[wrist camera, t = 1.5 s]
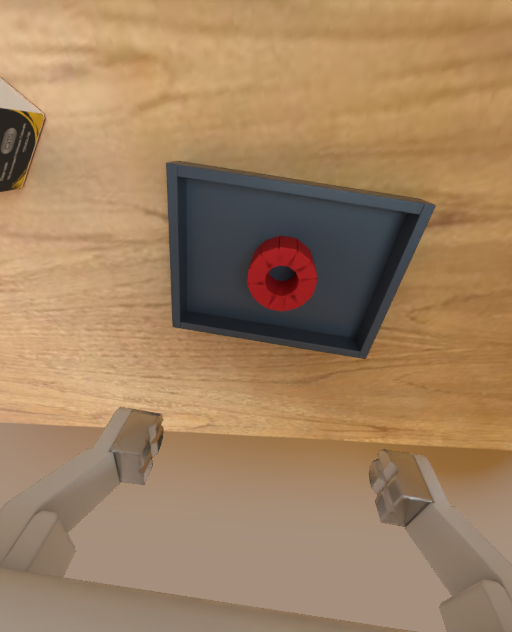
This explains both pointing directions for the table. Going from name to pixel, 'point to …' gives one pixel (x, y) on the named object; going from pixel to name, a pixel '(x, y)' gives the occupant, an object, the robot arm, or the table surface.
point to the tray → (328, 255)
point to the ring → (277, 291)
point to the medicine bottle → (16, 136)
